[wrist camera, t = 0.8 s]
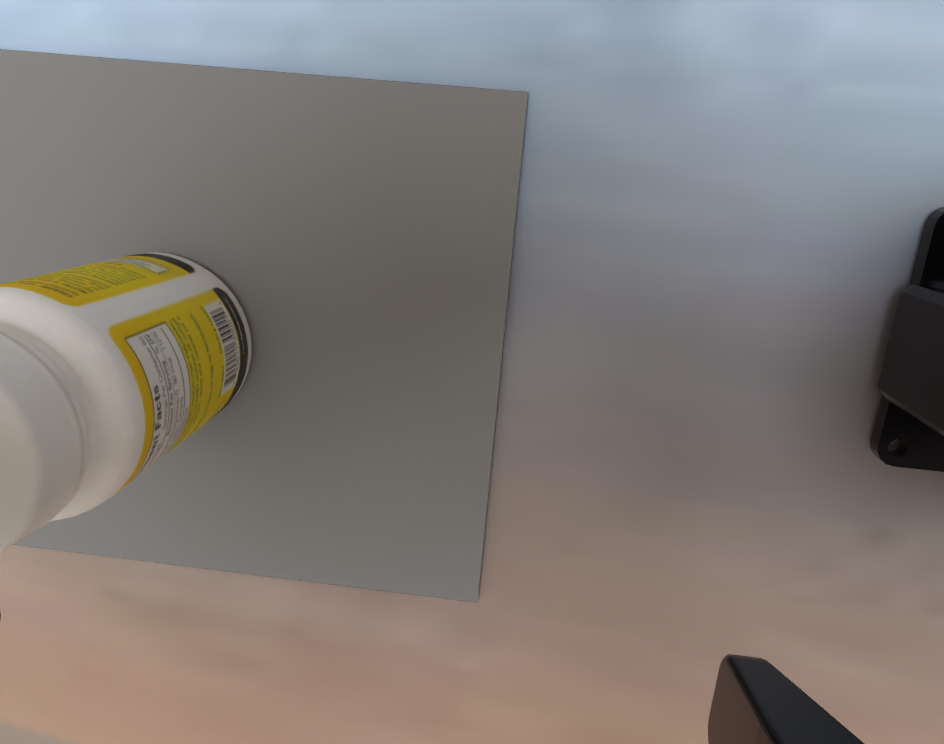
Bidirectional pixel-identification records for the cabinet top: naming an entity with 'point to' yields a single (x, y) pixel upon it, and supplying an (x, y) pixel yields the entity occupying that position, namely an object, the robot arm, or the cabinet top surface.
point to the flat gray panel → (291, 302)
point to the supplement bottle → (107, 378)
